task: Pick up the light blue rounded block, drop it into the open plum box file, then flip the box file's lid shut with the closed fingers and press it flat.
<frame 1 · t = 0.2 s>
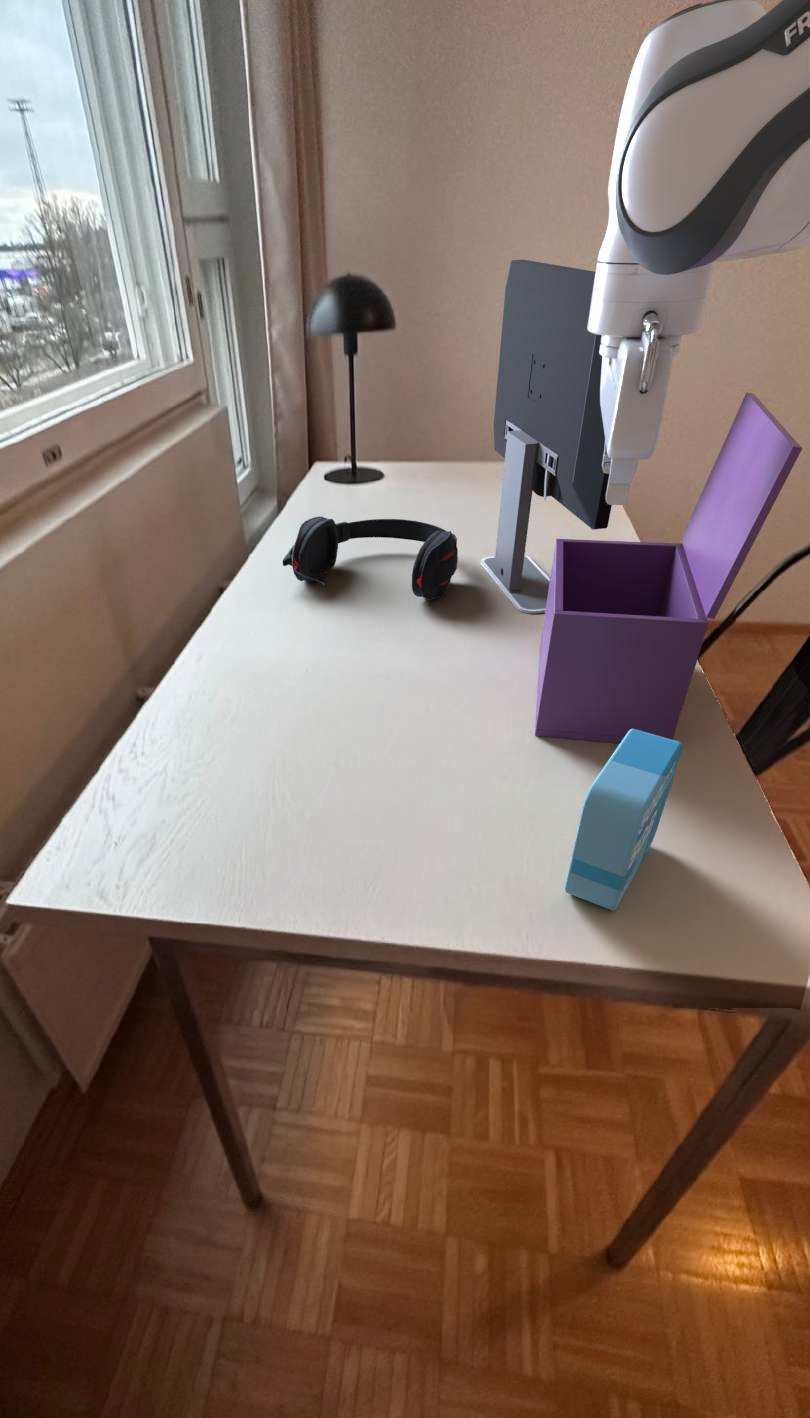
hand: (612, 486, 68), 27 cm above the table, tool pointing down, fingers open, 8 cm apart
headset: (369, 584, 120), on the table
light blue rounded block: (608, 870, 68), on the table
file box: (598, 693, 91), on the table
computer monitor: (523, 583, 118), on the table
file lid: (730, 501, 75), point 23 cm above the table, hinge at 100.0°
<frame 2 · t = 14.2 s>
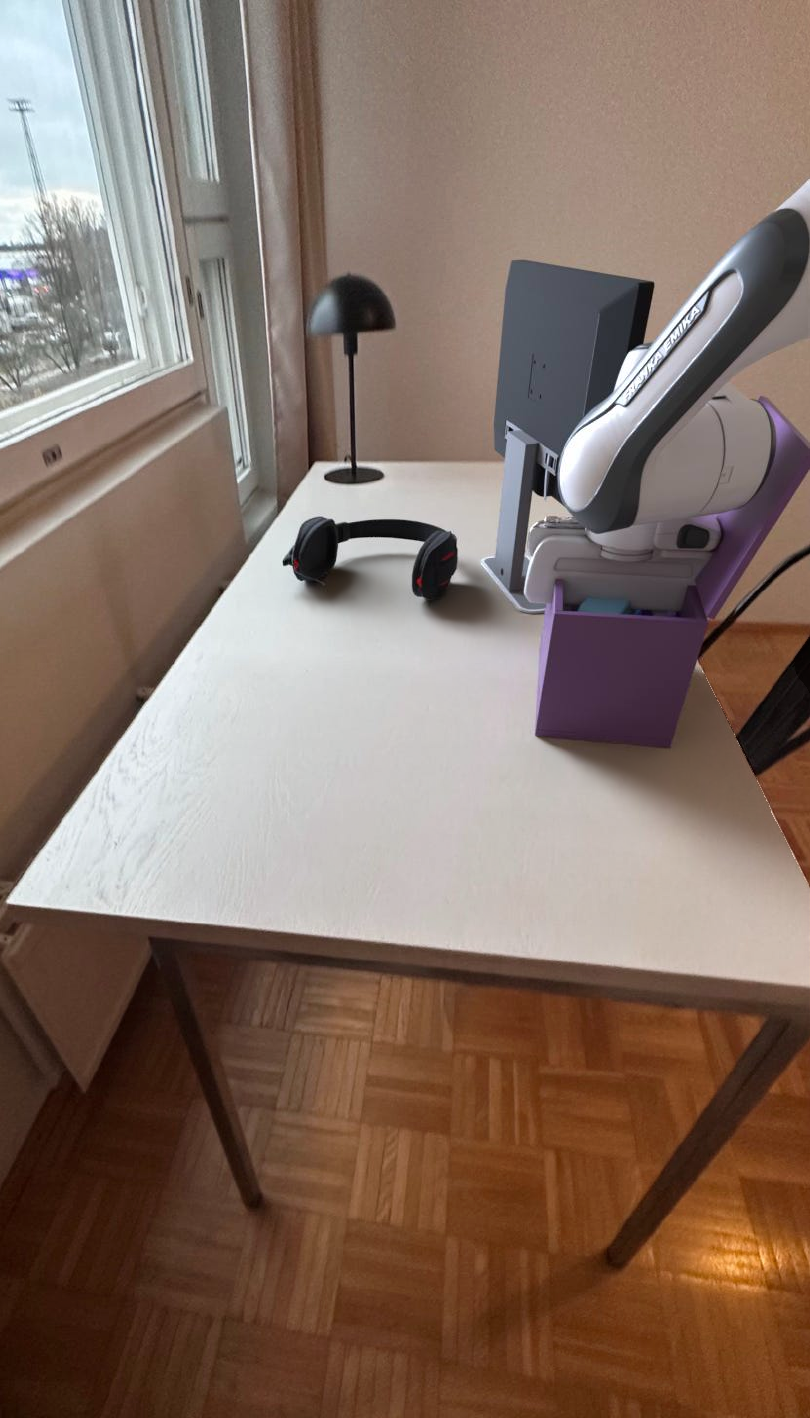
hand: (604, 640, 87), 7 cm above the table, tool pointing down, fingers open, 7 cm apart
light blue rounded block: (594, 687, 91), point 1 cm above the table, touching file box
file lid: (738, 503, 75), point 23 cm above the table, hinge at 105.5°, touching arm
everything else where it was.
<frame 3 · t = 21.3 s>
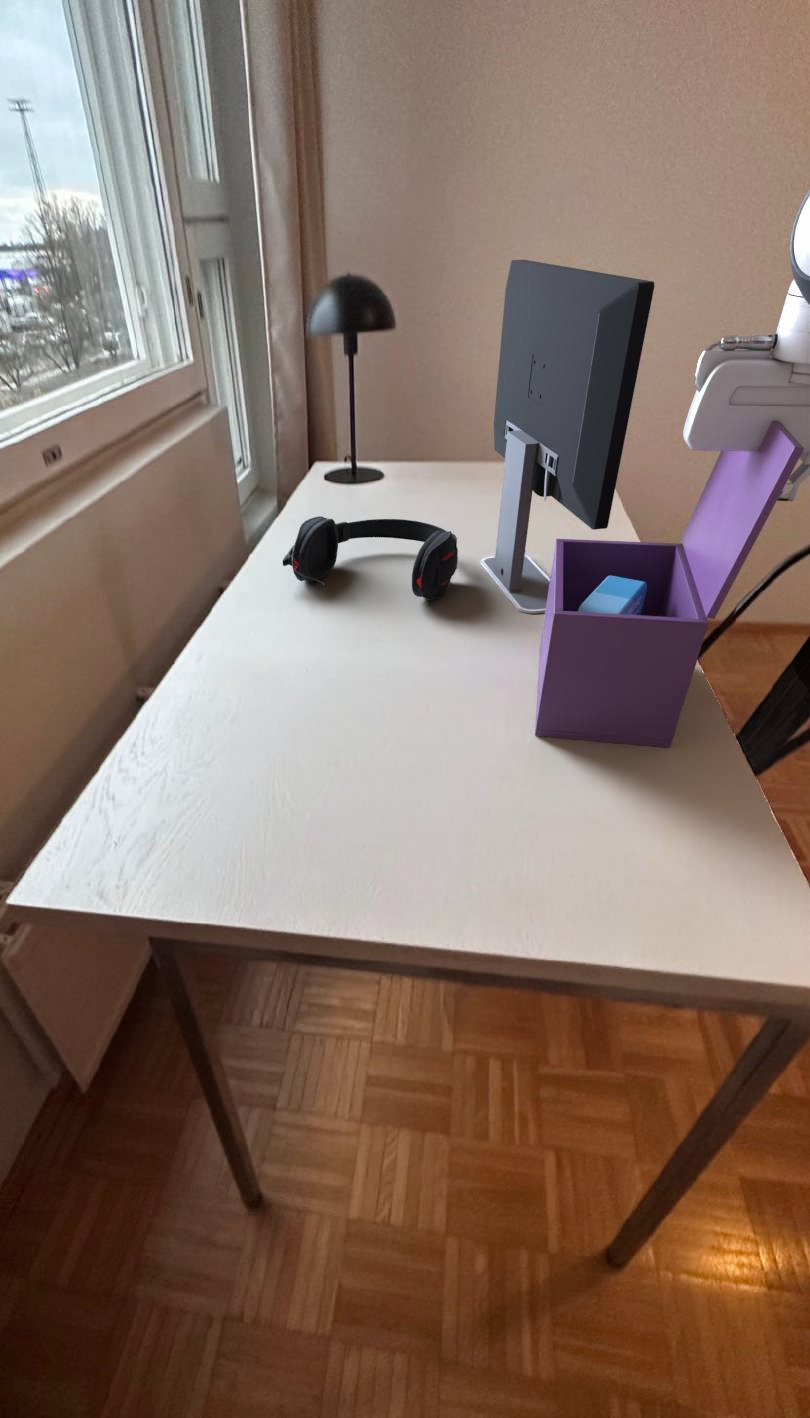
hand: (775, 499, 74), 23 cm above the table, tool pointing down, fingers closed
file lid: (731, 501, 75), point 23 cm above the table, hinge at 100.5°
everything else where it was.
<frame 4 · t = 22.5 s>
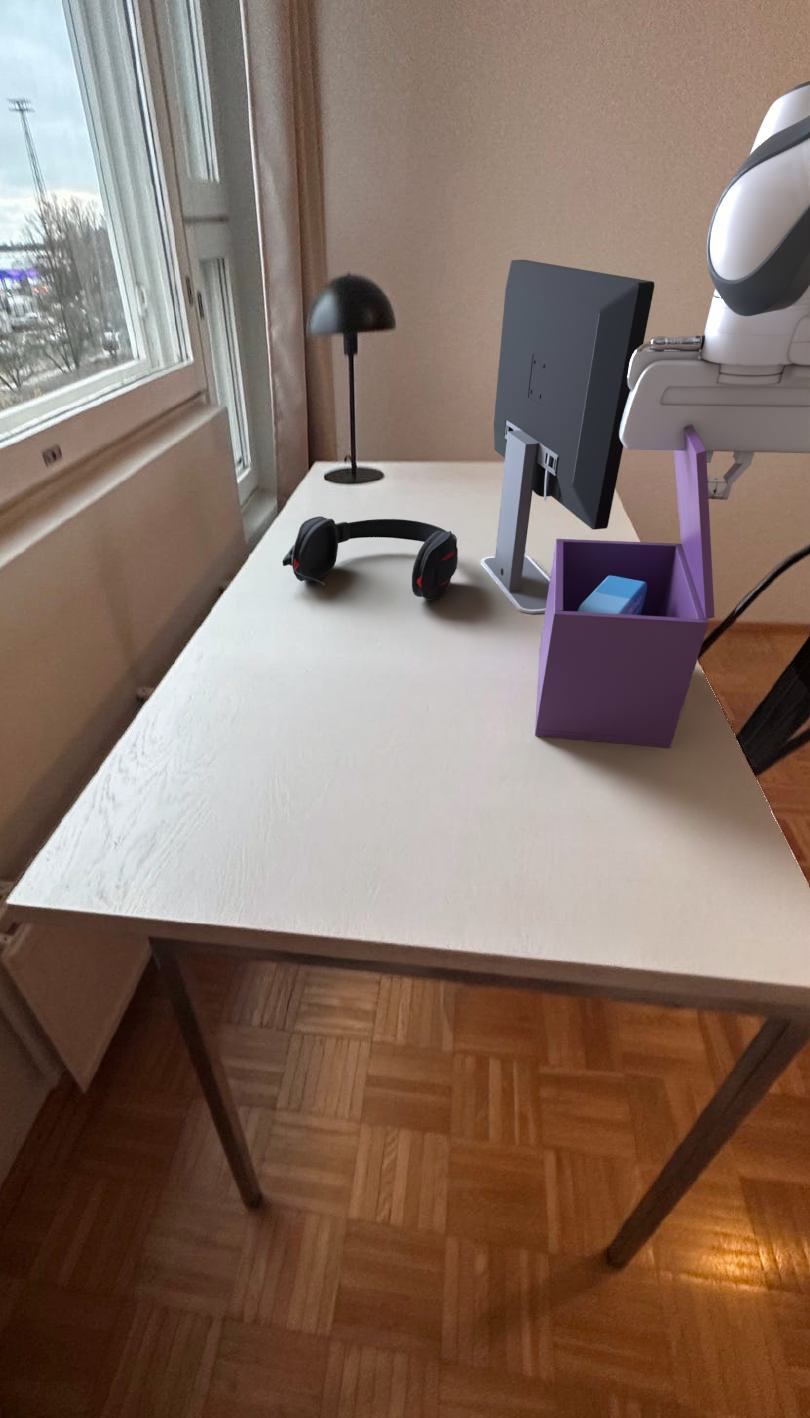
hand: (710, 497, 75), 23 cm above the table, tool pointing down, fingers closed
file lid: (691, 503, 75), point 23 cm above the table, hinge at 72.2°, touching gripper
everything else where it was.
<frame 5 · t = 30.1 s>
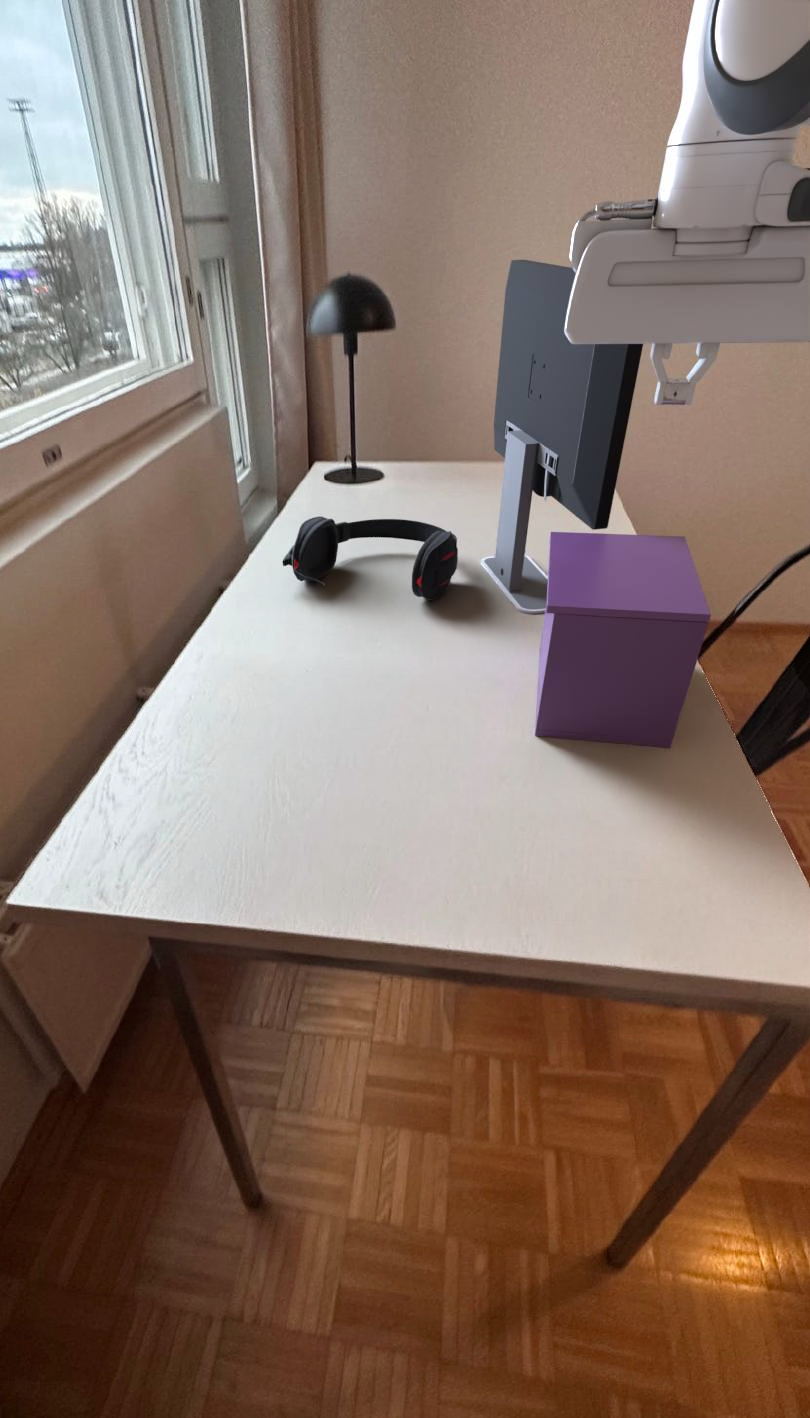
hand: (671, 403, 65), 33 cm above the table, tool pointing down, fingers closed
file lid: (620, 571, 81), point 15 cm above the table, hinge at -0.1°
everything else where it was.
at the end: light blue rounded block inside the target area in the file box (0.7 cm from its centre), point 0.7 cm above the file box's base; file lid at +0° (first picture: +100°) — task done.
